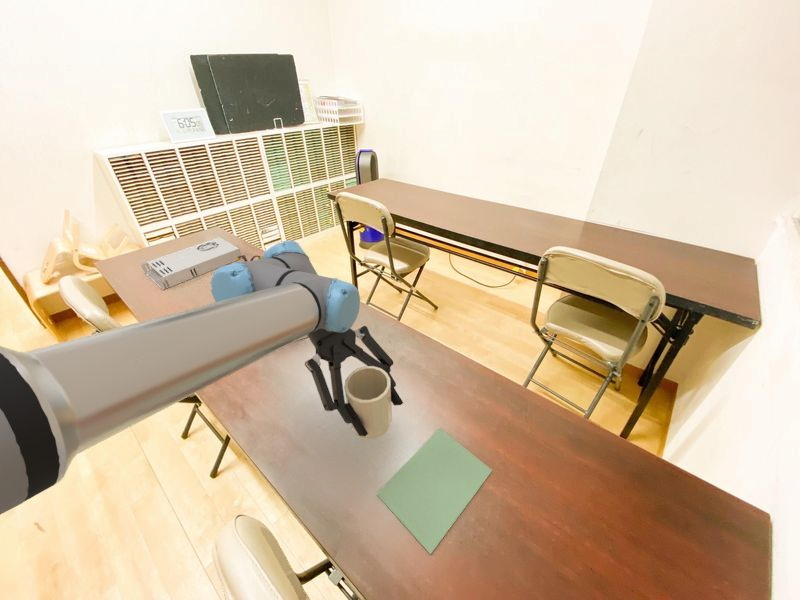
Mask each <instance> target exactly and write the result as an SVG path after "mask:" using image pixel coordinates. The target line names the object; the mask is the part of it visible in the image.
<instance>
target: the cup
mask: <svg viewBox="0 0 800 600" xmlns="http://www.w3.org/2000/svg"><path fill="white" fill-rule="evenodd" d="M343 390H344V393H345V394H344V395H345V400H346V403H350V404H351V406H352V408H353V409H354V411H355V413H356V414H357V416H358V418H359V419H360V421H361V422H362V424H363V426H364V427H365V429H366V431H367V432H368V434H367V435H366V436H359V434H358V433H357V431H356V429H355V428H354V426H353V424H352V423H350V426H351V429H352V431H353V432H354V433H355V434H356V435H357V436H358V437H360V438H361V439H365V440H375V439H379V438H380V437H383V436H384V435H385V434H387V432H388V431H389V430H390V429H391V426H392V423H393V403H392V401H391V380H390V378H389V376H388V374H387V372H385V371H384V370H383V369H381V368H378V367H375V366H367V365H364V366H361V367H357V368H356V369H354V370H353V371H351V372H350V373H349V374H348V376H347V377H346V378H345V380H344V385H343Z"/></svg>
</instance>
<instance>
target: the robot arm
mask: <svg viewBox="0 0 800 600" xmlns="http://www.w3.org/2000/svg"><path fill="white" fill-rule="evenodd" d="M261 257H262V259H253V261H250V260H248V261H246V262H245V261H235V262H233V263H229V264H227V265H224V266H222V267H219V268H217V269H215V270H214V272H213V274H212V276H211V279H210V284H211V285H210V287H211V289H210V290H211V295H212V298H213V299H214V302H211V303H207V304H203V305H200V306H199V305H198V306H196V307H192V308H188V309H184V310H180V311H176V312H173V313H169V314H165V315H161V316H157V317H153V318H150V319H145V320H142V321H139V322H135V323H131V324H127V325H123V326H120V327H116V328H112V329H111V328H110V329H108V330H104V331H101V332H97V333H93V334H89V335H85V336H81V337H76V338H74V339H70V340H66V341H62V342H57V343H54V344H50V345H46V346H43V347H39V348H35V349H31V350H27V351H17V350H15V349H11V348H8V347H5V346H2V345H0V516H1V515H2V514H5V513H7V512H8V511H10V510H12V509H14V508H16V507H18V506H19V505H22V504H23V503H24V502H26V501H28V500H30V499H32V498H34V497H36V496H37V495H39V494H40V493H41V494H42V493H43V492H45V491H46V490H48V489H50V488H51V487H53V486H55V485H57V484H58V483H60V482H61V481H62V480H63V479H64V478H65V476H66V473H67V472H68V470H69V468H70V466H71V463H72V462H73V460H74V459H75V457H76V456H77V455H78V454H81V453H83V452H84V451H87V450H88V449H90V448H92V447H94V446H96V445H98V444H100V443H102V442H104V441H106V440H108V439H110V438H112V437H113V436H116V435H117V434H119V433H121V432H123V431H125V430H127V429H129V428H131V427H132V426H134V425H137V424H138V423H140V422H143V421H145V420H146V419H148V418H150V417H152V416H154V415H156V414H158V413H160V412H161V411H163V410H165V409H168V408H170V407H171V406H173V405H175V404H177V403H180V402H181V401H183V400H185V399H186V398H189V397H190V396H192V395H194V394H196V393H198V392H200V391H202V390H204V389H206V388H208V387H210V386H212V385H213V384H216V383H218V382H220V381H221V380H223V379H225V378H227V377H229V376H232V375H233V374H235V373H237V372H239V371H240V370H242V369H244V368H247V367H249V366H250V365H252V364H254V363H256V362H258V361H260V360H262V359H263V358H265V357H266V358H267V356H270V355H271V354H274V353H275V352H277V351H279V350H281V349H283V348H285V347H288V346H289V345H291V344H293V343H295V342H296V340H298V339H300V338H302V337H304V336H306V335H307V338H308V339H309V341H310V342H311V344H312V345H313V347H314V349H315V355H313V356H312V357H311V358H310V359H308V360H306V361H305V362H304V366H305V368H306V369H307V370H308V371H309V372H310V374H311V376H312V379H313V381H314V384H315V387H316V390H317V392H318V395H319V399H320V401H321V404H322V406H323V409H324V411H326V412H333V411H335V410H337V411H338V413H339V415H340V416H341V418H342V419H343V421H344V423H346V424H347V425H351V423H352V424H353V426H354V428H355V429H356V431H357V433H358V434H359V436H358V437H360V436H366V435H367V434H368V432H367V431H366V429H365V427H364V426H363V424H362V422H361V421H360V419H359V418H358V416H357V414H356V413H355V411H354V409H353V408H352V406H351V404H350V403H347V402H346V401H345V394H344V393H345V392H344V385H343V378H342V377H343V376H342V363H343V362H345V361H346V360H347V359H348V358H350V357H353V358H355V359H357V360H358V361H360V362H361V363H362V364H364V365H365V366H375V367H378V368H381V369H383V370H384V371H385V372H387V374H388V376H389V378H390V380H391V401H392V406H402V405H403V404H404V401H403V399H402V398H401V397H400V395H399V393H398V392H397V390H396V388H395V387H397V382H396V381H395V380H394V378H393V376H392V374H391V371H392V369H391V367H392V366H393V365H394V360H393V359H392V358H391V357H390V356H389V354H388V353H387V352H386V351H385V350H384V349H383V348H382V346H381V345H380V344H379V343H378V342H377V341H376V340H375V339H374V337H373V336H372V335H371V333H370V330H369V328H368V326H366V325H362V326H361V327H359V328H358V329H355V330H353V329H352V327H353V325H354V324H355V322H356V321H357V319H358V315H359V312H360V307H361V296H360V292H359V289H358V288H357V287H356V286H355V285H354V284H353V283H351V282H347V281H344V280H341V279H339V278H337V277H334V278H333V277H328V276H325V275H324V276H323V275H319V274H318V272H317V270H316V269H315V267H314V265H313V264H312V262H311V260H310V257H309V256H308V255H307V254H306V252H305V250H304V249H303V248H302V246H301V245H300V244H299V242H297V241H294V240H284V241H282V242H278V243H276V244H274V245H272V246H271V247H269V248H268V249H266V251H264V253H263V254H262V256H261ZM357 339H358V340H361V342H362V344H363V345H364V346H365V347H366V348H367V349H368V351H369V352H371V354H372V355H373V356H374V357H375V358H374V357H373V356H372V355H370V354H369V353H368V352H366V351H365V350H364V349H363V348H362V347H361V346H359V345H358V344H356V343H357ZM300 340H301V339H300ZM298 341H299V340H298ZM320 360H323V361H325V362H327V365H328V371H329V374H330V384H331V391H332V394H331V392H330V388H329V386H328V384H327V383H328V382H327V381H326V377H325V376H324V373H323V370H322V368H321V365H322V363H321V361H320Z"/></svg>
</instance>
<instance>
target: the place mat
mask: <svg viewBox="0 0 800 600" xmlns="http://www.w3.org/2000/svg"><path fill="white" fill-rule="evenodd" d="M492 472H493V469H492V468H490V467H489V466H488V465H487V464H486V463H484V462H483V461H482V460H480V459H479V457H477V456H475V454H473V453H472V452H470V451H469V450H468V449H467V448H465V447H464V446H463V445H462V444H460V443H459V442H458V441H457V440H455V439H454V438H453V437H452V436H451V435H449V434H448V433H447V432H446V431H444V430H443V429H442V428H441V427H440V428H438V429H437V430H436V431H435V432H434V434H433V435H432V436H430V438H429V439H428V440H427V441H426V442H425V443H424V444H423V445H422V446H421V447H420V448H419V449H418V450H417V451H416V452H415V453H414V454H413V455H412V456H411V457H410V458H409V459H408V460H407V462H406V463H405V464H404V465H402V467H401V468H400V469H399V470H398V471H396V473H395V474H394V475H393V476H392V477H391V479H390V480H388V481H387V482H386V484H384V486H383V487H382V488H381V489H379V490H378V492H376V496H377V497H378V498H379V499H380V500H381V501H382V503H383V504H384V505H385V506H386V507H387V508H388V509H389V510H390V511H391V513H392V514H393V515H394V516H395V517H396V518H397V519H398V521H400V523H401V524H402V525H403V526H404V527H405V528H406V529H407V531H408V532H409V533H410V534H411V535H412V536H413V538H414V539H415V540H416V541H417V542H418V543H419V544H420V545H421V546H422V548H423V549H424V550H425V551H426V552H427V553H428V554H429V555H430V556H431V555H432V554H433V552H434V551H435V550H436V549H437V547H438V546H439V544H440V543H441V541H442V540H443V539H444V538H445V536H446V535H447V533H448V532H449V531H450V529H451V528H452V527H453V525H454V524H455V522H457V520H458V519H459V517H460V516H461V515H462V513H463V512H464V510H465V509H466V507H467V506H468V505H469V504H470V502H471V501H472V499H473V498H474V497H475V495H476V494H477V493H478V491H479V490H480V488H481V487H482V486H483V485H484V483H485V482H486V480H487V479H488V478H489V476H490V475H491V474H492Z"/></svg>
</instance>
